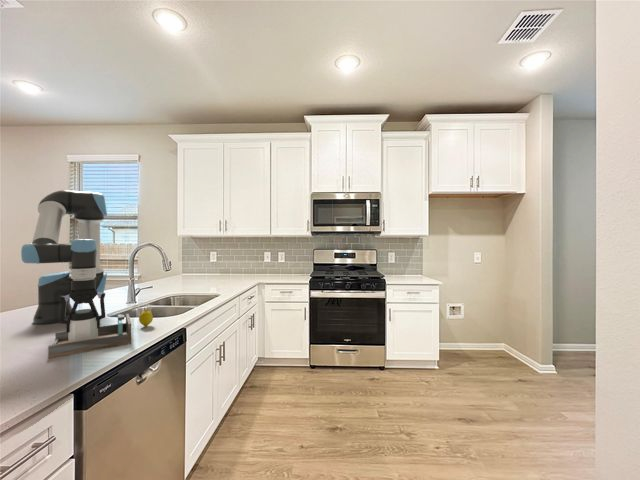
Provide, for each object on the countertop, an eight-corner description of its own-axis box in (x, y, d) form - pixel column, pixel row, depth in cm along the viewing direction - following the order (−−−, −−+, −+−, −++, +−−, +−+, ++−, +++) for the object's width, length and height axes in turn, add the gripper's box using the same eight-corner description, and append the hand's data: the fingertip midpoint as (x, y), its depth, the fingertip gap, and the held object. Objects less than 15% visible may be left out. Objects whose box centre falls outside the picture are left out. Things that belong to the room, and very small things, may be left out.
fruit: (155, 325, 138) (155, 308, 138) (145, 328, 133) (145, 311, 133) (146, 324, 140) (146, 307, 140) (136, 327, 135) (136, 310, 134)
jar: (66, 347, 107) (66, 315, 107) (70, 341, 114) (70, 310, 114) (97, 343, 112) (97, 312, 112) (98, 337, 119) (98, 307, 119)
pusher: (117, 331, 126) (117, 312, 126) (123, 330, 127) (123, 311, 127) (118, 341, 113) (118, 320, 113) (124, 340, 114) (124, 320, 114)
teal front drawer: (55, 342, 115) (55, 322, 115) (128, 331, 129) (128, 313, 129) (48, 358, 100) (48, 335, 100) (131, 343, 115) (131, 323, 114)
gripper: (48, 282, 104) (48, 346, 104) (114, 278, 115) (114, 336, 116) (51, 279, 110) (51, 340, 110) (113, 276, 121) (113, 331, 122)
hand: (83, 338), depth 113 cm, fingers open, 6 cm apart
